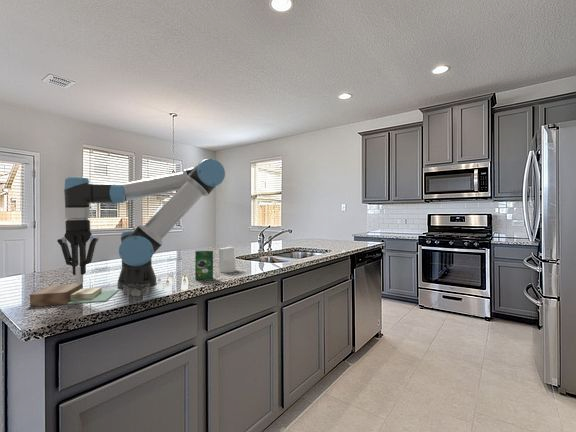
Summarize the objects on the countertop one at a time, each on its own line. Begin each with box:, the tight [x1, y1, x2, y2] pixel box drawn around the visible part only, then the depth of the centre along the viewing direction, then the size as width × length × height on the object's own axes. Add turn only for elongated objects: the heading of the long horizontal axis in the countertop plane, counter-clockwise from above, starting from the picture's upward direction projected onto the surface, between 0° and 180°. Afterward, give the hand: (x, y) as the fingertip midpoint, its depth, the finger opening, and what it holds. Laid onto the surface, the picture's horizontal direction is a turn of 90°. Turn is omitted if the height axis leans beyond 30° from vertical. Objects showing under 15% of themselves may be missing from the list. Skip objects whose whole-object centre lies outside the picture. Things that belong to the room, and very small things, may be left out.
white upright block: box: [217, 246, 237, 274], centre depth 166 cm, size 9×9×12 cm
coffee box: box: [194, 250, 214, 281], centre depth 147 cm, size 8×3×13 cm, turn 108°
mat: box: [66, 289, 120, 305], centre depth 118 cm, size 12×16×1 cm
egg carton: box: [122, 283, 152, 297], centre depth 123 cm, size 11×8×4 cm
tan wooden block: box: [29, 282, 84, 307], centre depth 115 cm, size 11×14×4 cm
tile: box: [70, 287, 103, 300], centre depth 117 cm, size 7×9×2 cm
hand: (79, 283), depth 117 cm, fingers closed
